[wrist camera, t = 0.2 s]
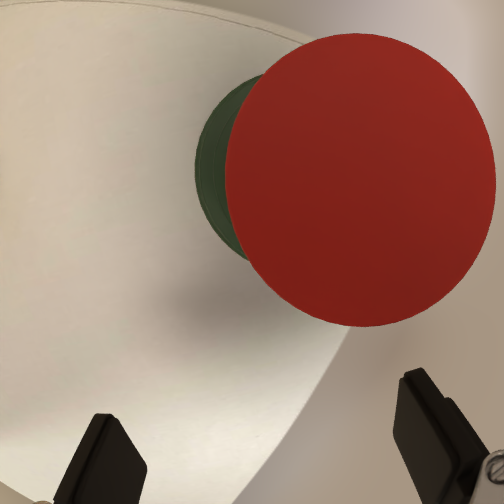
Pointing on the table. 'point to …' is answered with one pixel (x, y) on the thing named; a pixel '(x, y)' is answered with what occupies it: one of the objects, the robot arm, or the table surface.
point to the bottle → (219, 164)
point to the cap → (360, 179)
